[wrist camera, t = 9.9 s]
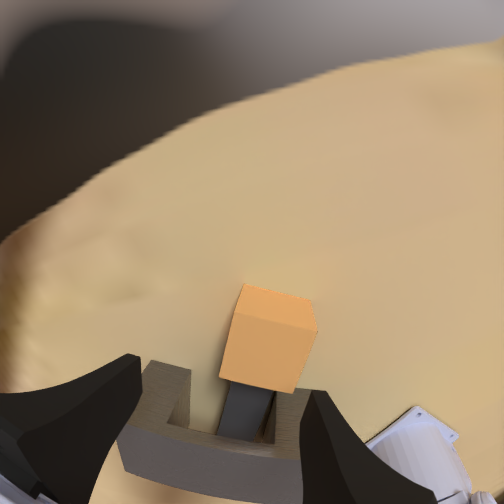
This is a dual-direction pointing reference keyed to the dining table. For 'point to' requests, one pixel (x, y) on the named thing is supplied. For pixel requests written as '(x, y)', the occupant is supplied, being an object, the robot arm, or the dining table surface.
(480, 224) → the dining table surface
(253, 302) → the plug
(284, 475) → the housing
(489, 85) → the dining table surface
